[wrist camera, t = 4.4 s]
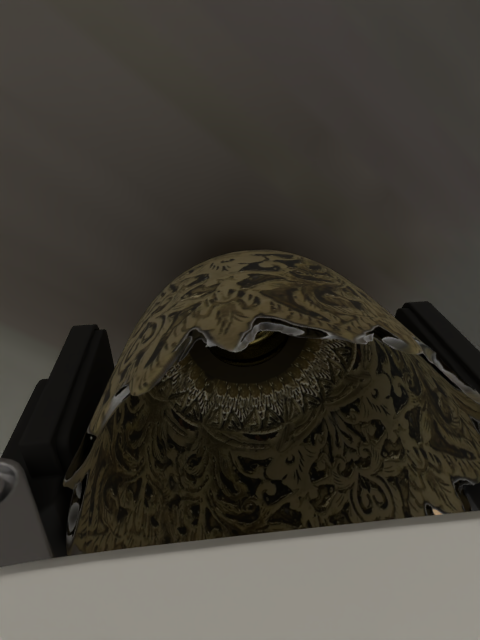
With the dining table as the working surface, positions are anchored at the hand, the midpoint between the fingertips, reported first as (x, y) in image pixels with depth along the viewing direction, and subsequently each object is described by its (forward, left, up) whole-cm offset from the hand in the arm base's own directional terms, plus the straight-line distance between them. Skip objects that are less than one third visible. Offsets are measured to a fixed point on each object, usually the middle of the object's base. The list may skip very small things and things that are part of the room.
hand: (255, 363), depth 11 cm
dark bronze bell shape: (0, 0, -4) cm, 4 cm away
